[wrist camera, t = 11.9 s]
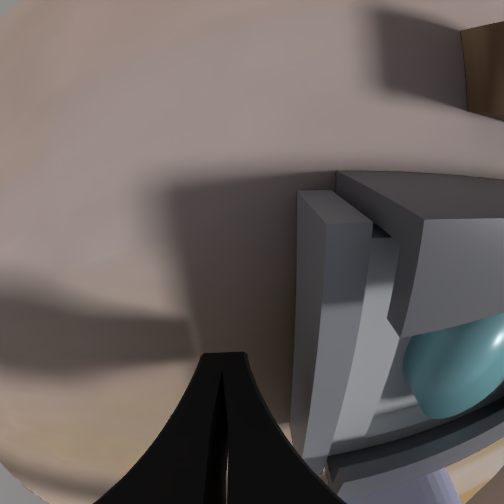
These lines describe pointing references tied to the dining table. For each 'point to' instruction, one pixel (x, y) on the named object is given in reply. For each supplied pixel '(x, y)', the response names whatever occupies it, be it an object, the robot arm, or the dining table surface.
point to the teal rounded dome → (455, 366)
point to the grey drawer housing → (430, 304)
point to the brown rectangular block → (485, 69)
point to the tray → (348, 337)
